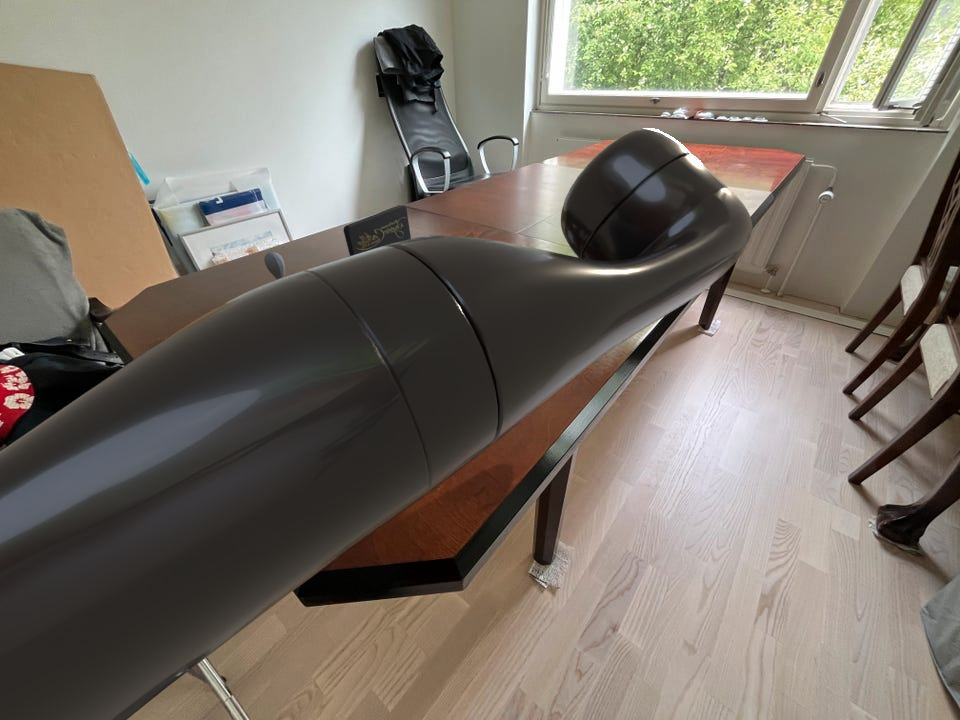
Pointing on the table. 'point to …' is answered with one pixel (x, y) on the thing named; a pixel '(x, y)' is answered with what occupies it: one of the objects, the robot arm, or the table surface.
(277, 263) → the rubber stamp
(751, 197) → the table surface
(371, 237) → the nameplate
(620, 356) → the table surface
